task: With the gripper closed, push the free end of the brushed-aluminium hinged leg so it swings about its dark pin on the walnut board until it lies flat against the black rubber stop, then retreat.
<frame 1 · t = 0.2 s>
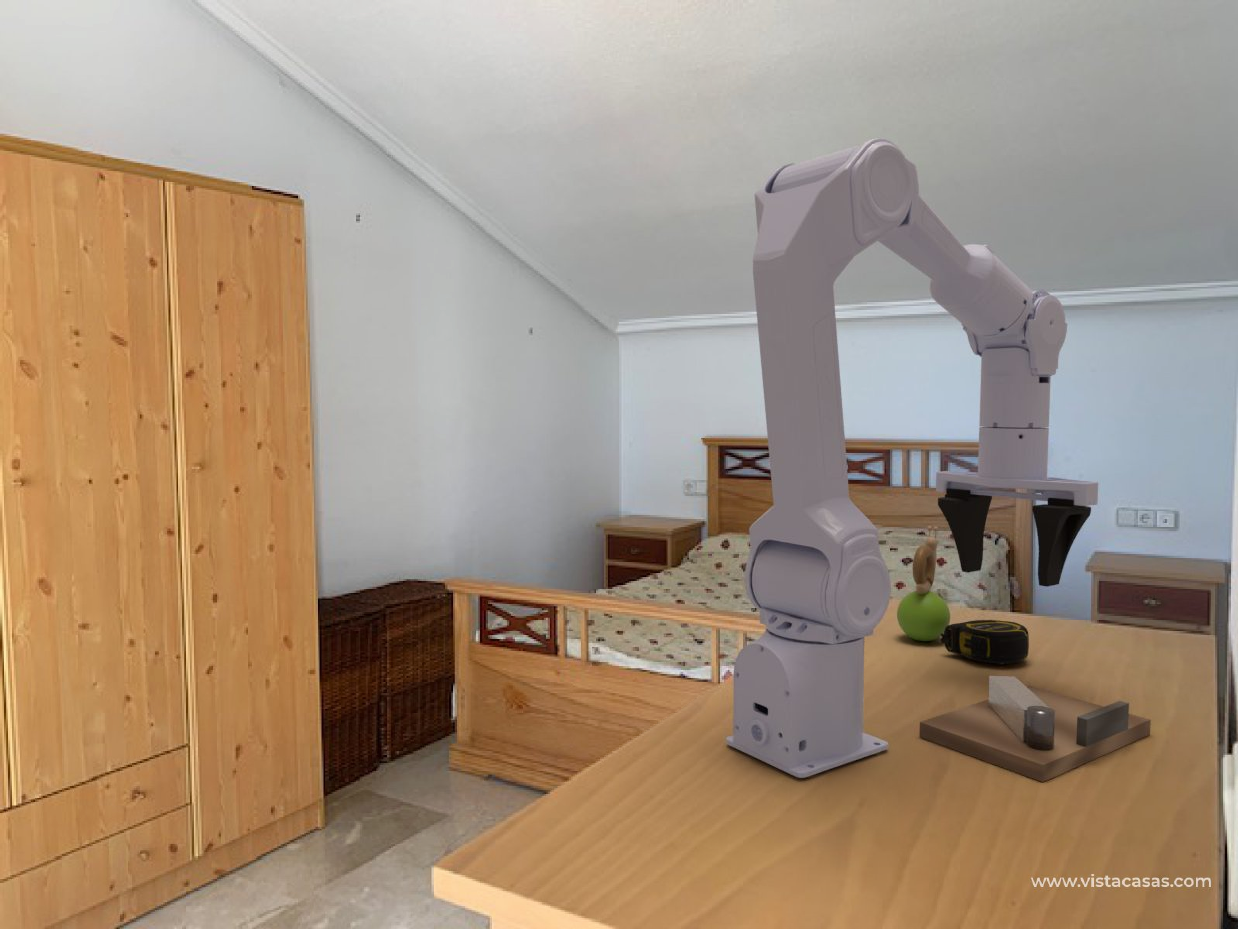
hand: (1008, 577, 82), 10 cm above the table, fingers open, 7 cm apart
tape measure: (983, 661, 91), on the table
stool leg: (1021, 709, 68), point 3 cm above the table, hinge at 50.0°
walnut board: (1035, 735, 70), on the table
snail figurine: (923, 641, 98), on the table
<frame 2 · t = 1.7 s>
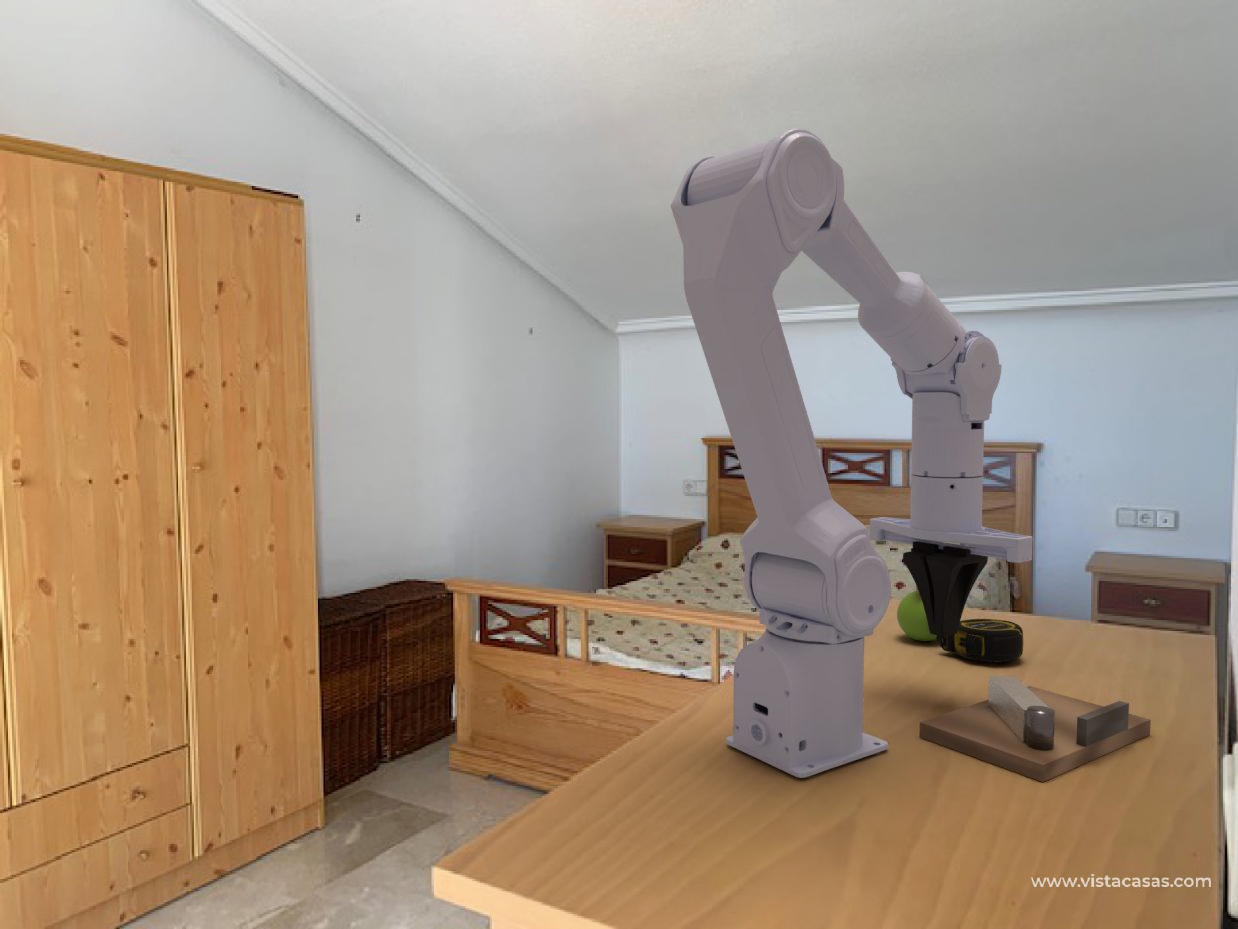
hand: (943, 633, 77), 6 cm above the table, fingers closed
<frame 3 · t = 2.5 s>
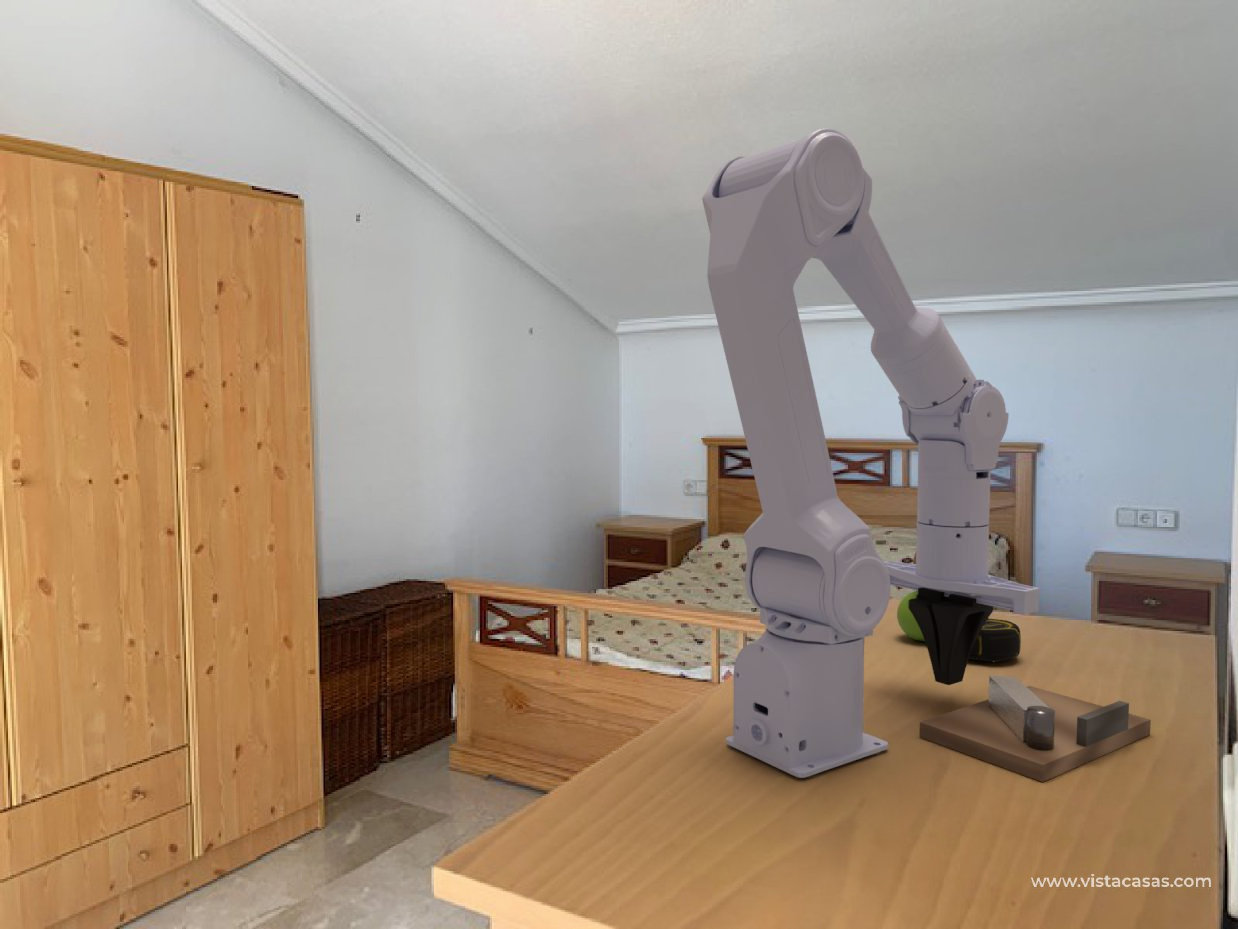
hand: (948, 681, 77), 2 cm above the table, fingers closed
nothing on the table moved.
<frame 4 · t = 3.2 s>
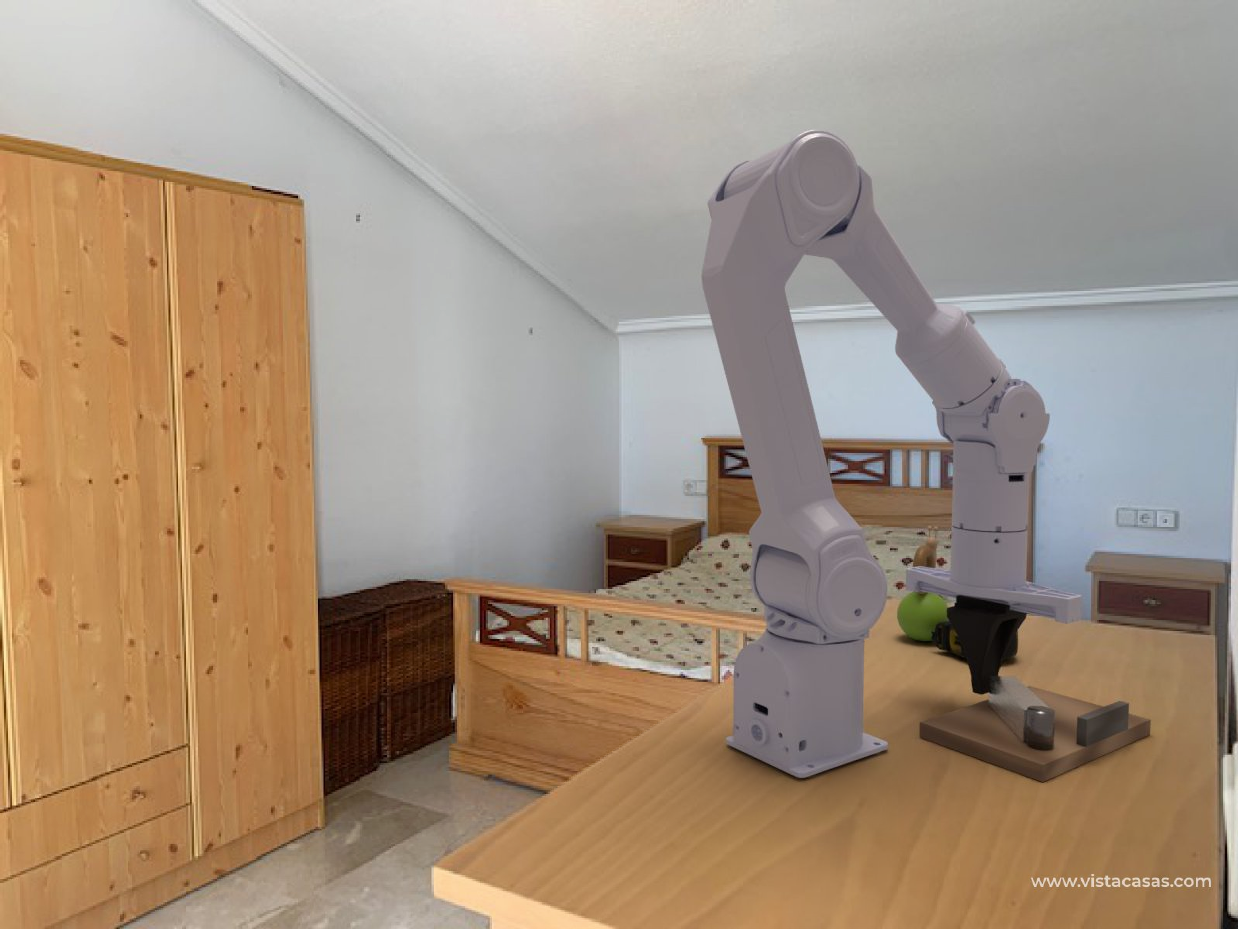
hand: (984, 691, 74), 2 cm above the table, fingers closed, pressing on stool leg
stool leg: (1022, 709, 68), point 3 cm above the table, hinge at 49.8°, touching gripper
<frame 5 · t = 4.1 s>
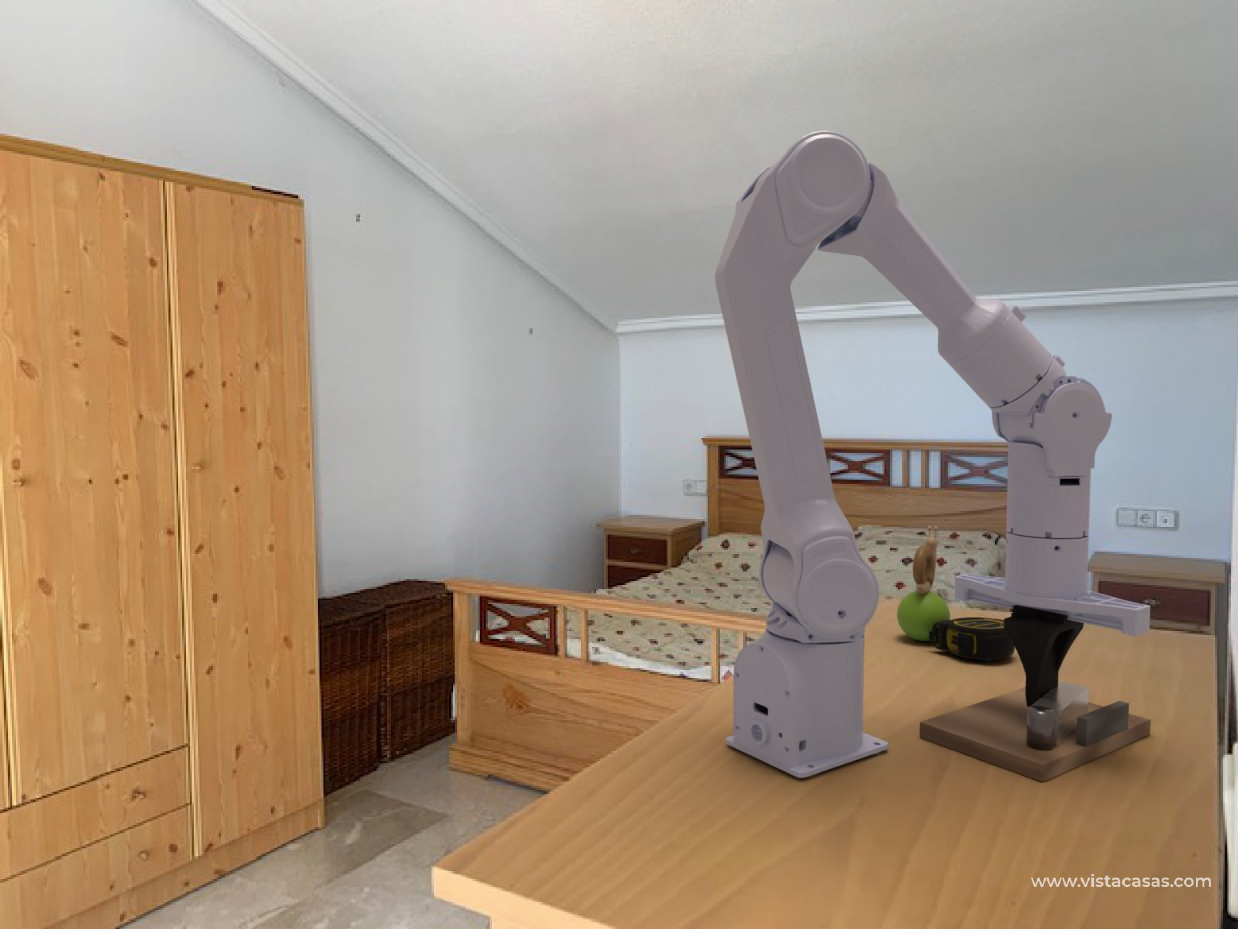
hand: (1042, 706, 70), 2 cm above the table, fingers closed, pressing on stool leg
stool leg: (1056, 713, 67), point 3 cm above the table, hinge at 13.7°, touching gripper
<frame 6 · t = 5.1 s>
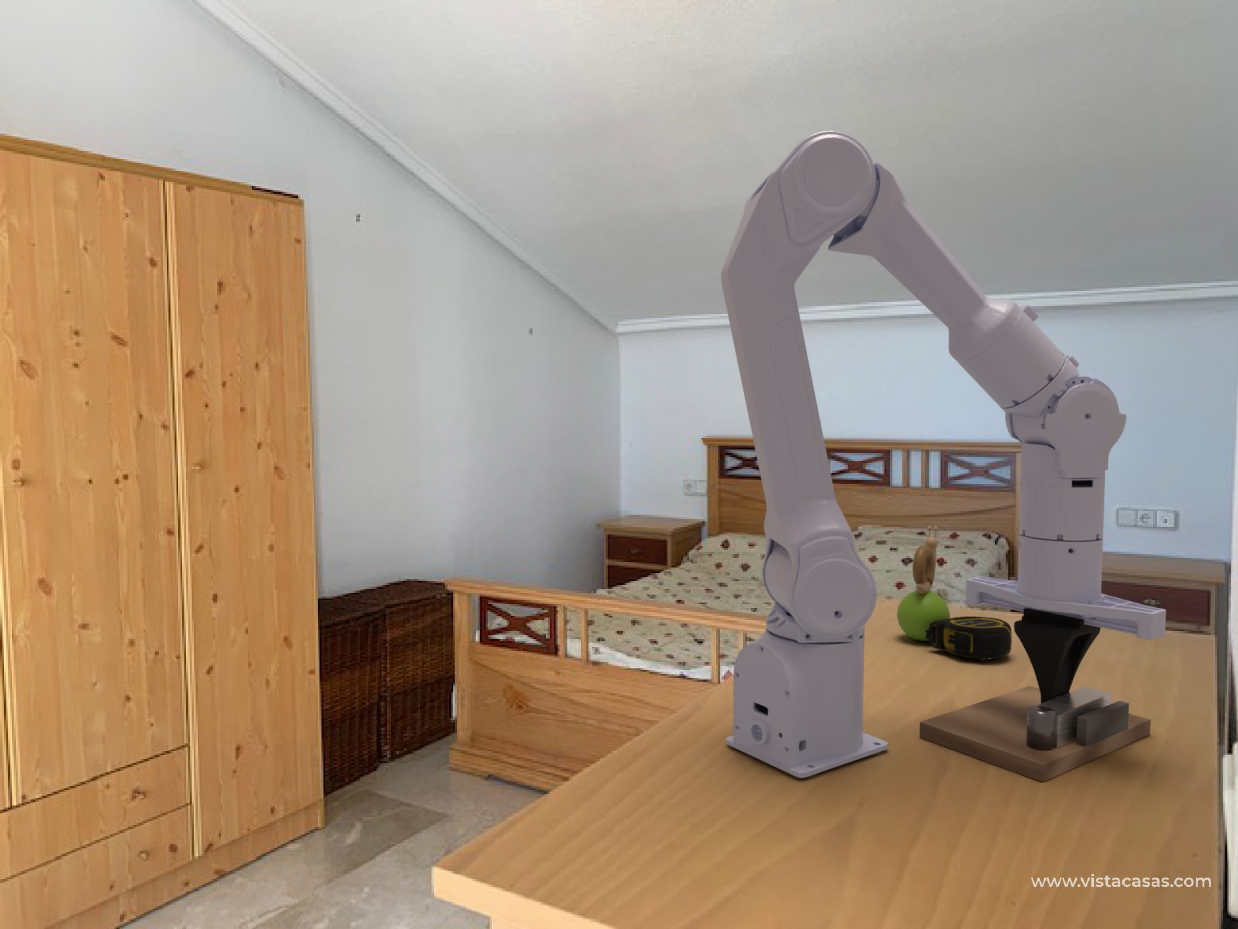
hand: (1054, 711, 69), 2 cm above the table, fingers closed
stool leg: (1067, 716, 67), point 3 cm above the table, hinge at 2.0°, touching gripper
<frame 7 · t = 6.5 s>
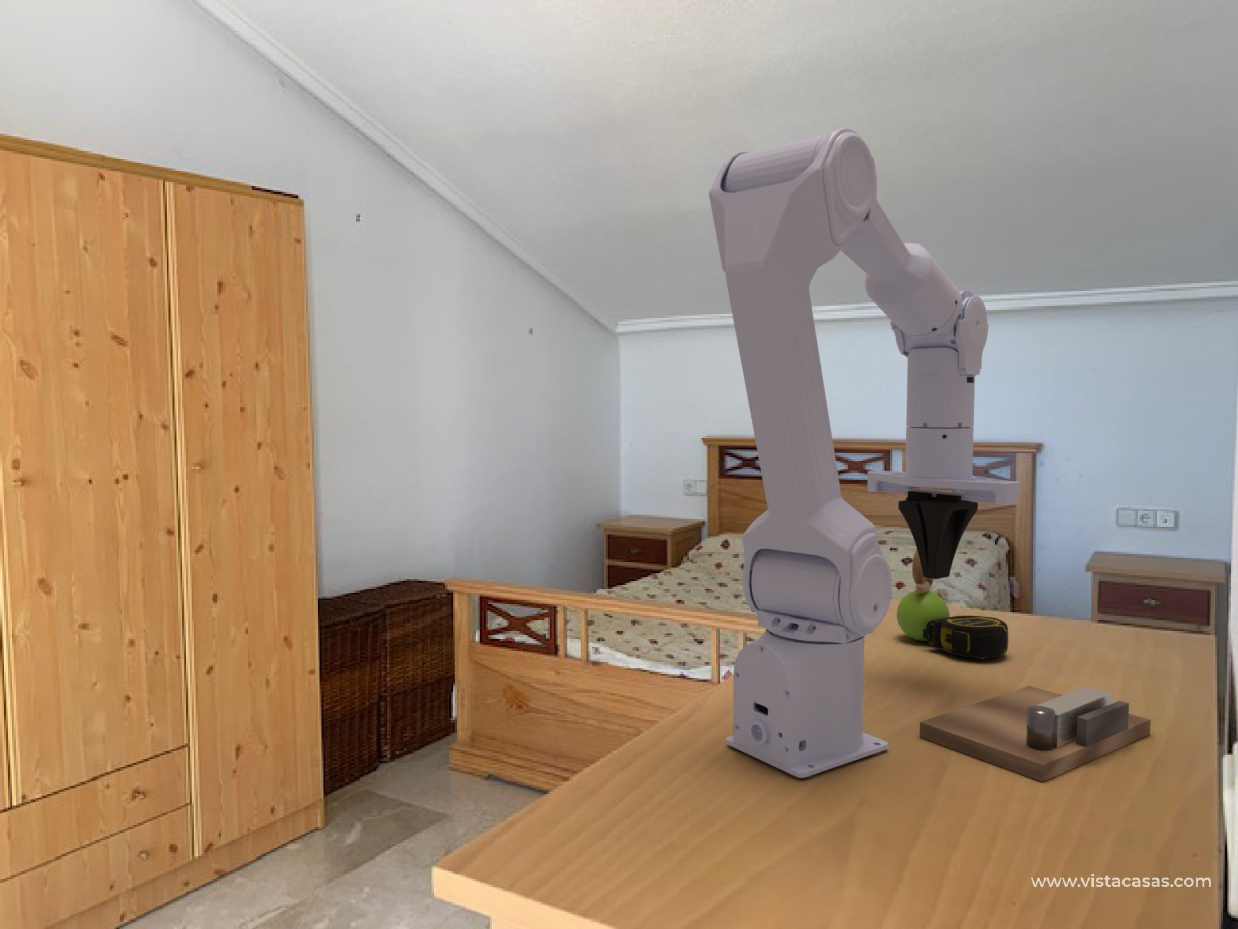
hand: (936, 576, 82), 10 cm above the table, fingers closed
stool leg: (1067, 716, 67), point 3 cm above the table, hinge at 1.7°
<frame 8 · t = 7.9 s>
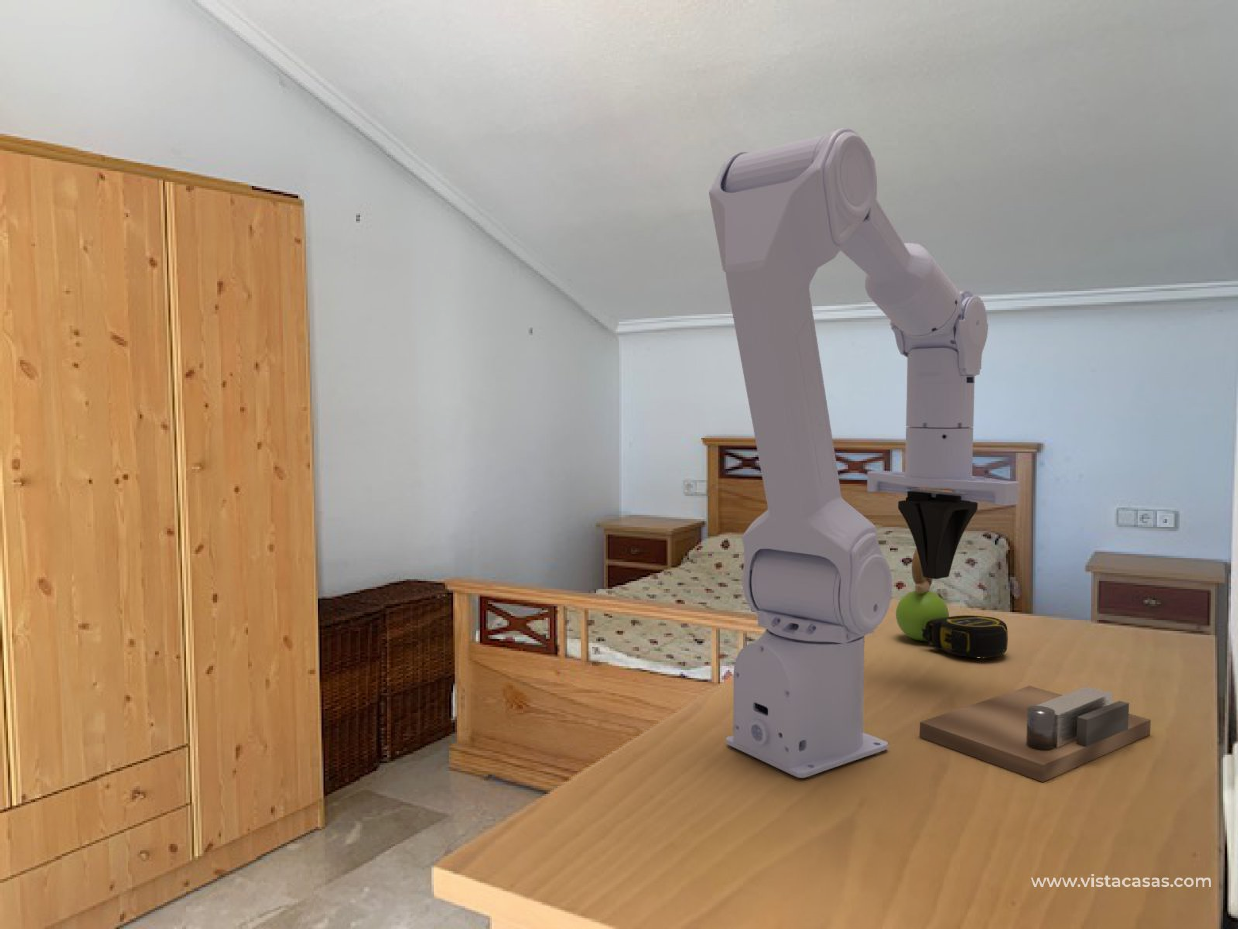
hand: (936, 577, 82), 10 cm above the table, fingers closed
tape measure: (963, 656, 93), on the table, touching snail figurine
snail figurine: (922, 640, 98), on the table, touching tape measure
everything else where it was.
at the end: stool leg at +2° (first picture: +50°); the gripper is holding nothing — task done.
